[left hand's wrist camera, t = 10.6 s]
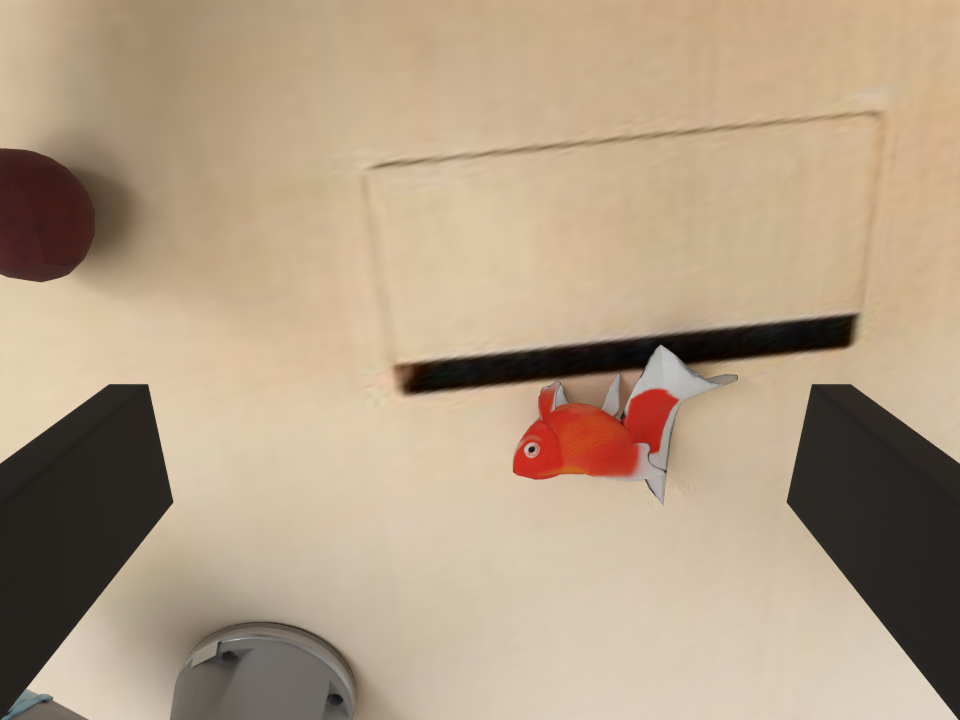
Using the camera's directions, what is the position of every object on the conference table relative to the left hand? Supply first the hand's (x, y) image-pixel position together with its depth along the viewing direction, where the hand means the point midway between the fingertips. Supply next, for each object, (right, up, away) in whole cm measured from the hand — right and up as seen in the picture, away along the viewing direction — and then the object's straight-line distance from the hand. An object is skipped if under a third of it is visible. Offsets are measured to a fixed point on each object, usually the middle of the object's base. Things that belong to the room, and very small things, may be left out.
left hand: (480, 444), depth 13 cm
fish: (+10, -1, +32) cm, 33 cm away
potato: (-27, +11, +27) cm, 40 cm away
